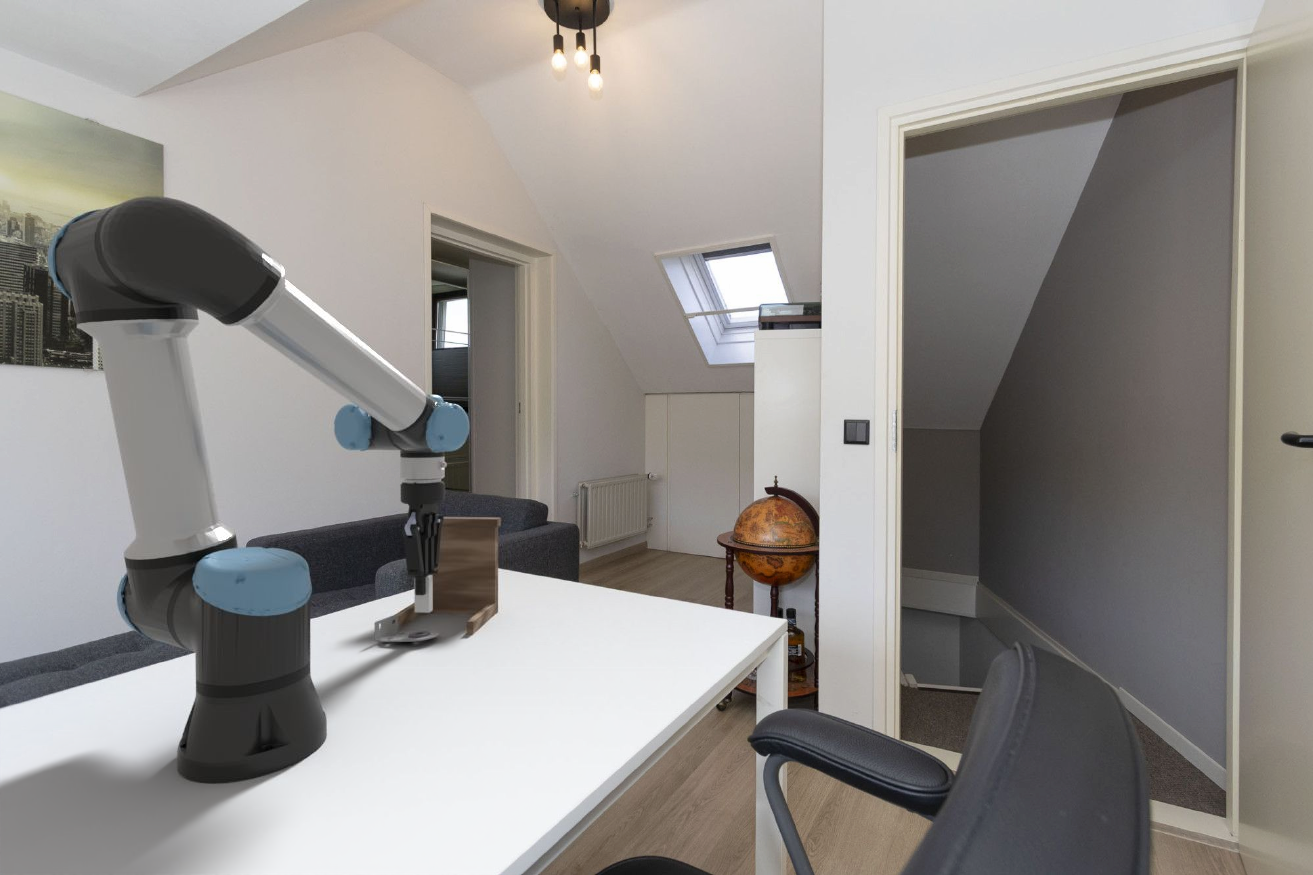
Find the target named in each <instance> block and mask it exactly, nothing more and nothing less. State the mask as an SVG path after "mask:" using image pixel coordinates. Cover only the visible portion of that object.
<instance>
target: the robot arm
mask: <svg viewBox="0 0 1313 875" xmlns="http://www.w3.org/2000/svg"><path fill="white" fill-rule="evenodd" d="M46 258H47V267H48V271H49V274H50V276H51V280H52V281H53V283H54V284H55V285H56V287H57V288H58V289H59V291H60V292H61V293H62V294H63V295H64V296H65V297H67V299H69V300H70V301H71V302H72V303H73V308H74V309H73V310H74V313H75V317H76V324H77V328H78V329H80V330H81V331H83V332H85V333H86V335H87V334H88V335H89V336H90V337H92V338H93V339H95V340H96V342H97V343H98V347H99V351H100V357H101V358H100V359H101V363H102V367H103V372H104V378H105V382H106V388H107V392H108V393H107V394H108V398H109V404H110V408H111V413H112V414H111V415H112V418H113V422H114V423H113V424H114V429H115V433H116V439H117V444H118V449H119V454H120V459H121V463H122V468H123V475H124V479H125V483H126V489H127V495H128V499H129V505H130V509H131V515H132V520H133V526H134V529H135V530H134V531H135V539H134V540H133V541H132V542H131V543H130V544H129V545H128V547H126V549H125V550H124V551H123V557H124V562H125V568H126V569H125V570H126V572H125V574H124V575H123V577H122V578H121V579H120V581H119V584H118V587H117V594H116V602H117V604H116V605H117V609H118V611H119V613H120V614H119V615H120V616H121V618H122V620H123V621H124V622H125V624H126V625H127V626H128V627H129V628H131V629H132V630H133V631H134V632H136V633H137V634H139V635H141V636H142V637H144V638H145V639H147V640H149V641H152V642H156V643H158V644H162V645H167V646H174V647H176V648H180V649H183V650H186V651H189V652H193V653H194V654H195V656H194V657H195V696H194V701H193V704H192V706H191V710H190V712H189V715H188V718H187V720H186V724H185V726H184V729H183V732H182V736H181V739H180V740H179V743H178V746H177V751H176V753H177V755H176V756H177V758H176V759H177V763H176V764H177V769H176V770H177V772H178V774H179V775H180V776H181V777H182V778H184V779H186V780H188V781H192V782H194V783H195V782H196V783H202V784H203V783H204V784H225V783H226V784H227V783H236V782H240V781H241V782H242V781H247V780H251V779H256V778H260V777H264V776H267V775H270V774H275V773H276V772H279V771H282V770H284V769H285V770H286V769H287V768H289V767H291V766H294V765H296V764H298V763H300V762H302V761H304V760H305V759H307V758H309V757H310V756H312V755H313V754H314V753H316V752H317V751H318V750H319V749H320V748H322V746H323V745H324V743H325V742H326V740H327V736H328V734H327V732H328V728H327V725H328V724H327V723H328V722H327V714H326V712H325V711H324V710H323V706H322V703H321V700H320V697H319V695H318V693H317V692H318V691H317V689H316V687H315V685H314V682H313V679H312V676H311V672H312V671H311V595H312V592H313V587H312V581H311V576H310V575H311V574H310V573H311V572H310V568H309V564H308V562H307V560H306V559H305V558H304V557H303V556H302V555H301V554H298V553H296V552H294V551H291V550H287V549H284V548H278V547H277V548H276V547H269V548H265V547H261V546H248V547H247V546H246V547H239V544H238V540H237V533H236V530H235V529H233V528H231V527H230V526H228V525H226V524H225V523H222V522H221V521H220V518H219V512H218V506H217V501H216V500H217V499H216V495H215V488H214V484H213V483H214V482H213V479H212V478H213V477H212V473H211V472H212V471H211V466H210V461H209V455H208V450H207V444H206V438H205V437H206V436H205V431H204V427H203V421H202V416H201V408H200V403H199V398H198V393H197V391H198V390H197V387H196V380H195V379H196V378H195V375H194V370H193V364H192V363H193V362H192V357H191V352H190V347H189V346H190V345H189V341H188V338H189V336H190V334H191V333H192V332H193V331H194V330H195V329H196V327H198V325H199V324H200V320H199V315H198V310H199V311H202V312H203V313H206V314H208V315H210V316H211V317H213V318H214V319H216V320H217V321H218V322H220V323H221V324H223V325H224V326H227V327H234V326H241V327H243V328H244V329H245V330H247V331H248V332H250V333H251V334H252V335H254V336H256V337H257V338H258V339H260V340H261V341H263V342H264V343H266V344H267V345H268V346H270V347H271V348H273V349H274V350H276V351H277V352H278V353H280V354H281V355H283V356H284V357H286V358H287V359H289V360H290V361H292V363H294V364H296V365H297V366H299V367H300V368H301V369H303V370H305V371H306V372H307V373H308V374H310V375H312V377H315V378H316V379H317V380H319V381H320V382H321V383H323V384H324V385H326V386H328V388H330V389H332V390H333V391H335V392H336V393H337V394H339V395H340V396H342V397H343V398H345V399H346V400H348V401H349V402H350V403H349V404H348V403H347V404H346V405H343V406H342V407H341V408H340V409H339V410H338V411H337V413H336V415H335V417H334V420H333V424H334V427H333V428H334V429H333V432H334V436H335V439H336V441H337V442H338V444H339V445H340V446H341V447H342V448H344V449H345V450H347V451H348V450H349V451H360V452H366V451H374V450H375V451H399V452H400V453H399V454H400V460H399V461H400V462H399V463H400V464H399V465H400V466H399V478H400V479H401V480H403V482H401V483H400V485H399V486H400V503H402V504H405V505H408V512H407V522H406V523H401V525H400V532H401V535H402V538H403V539H402V540H403V546H404V553H405V554H404V556H405V563H406V570H407V575H408V577H409V578H410V577H411V578H412V577H414V578H413V580H414V588H413V589H414V592H413V593H414V594H413V595H414V602H415V612H421V613H422V614H424V613H430V612H431V611H432V610H433V575H432V574H437V573H438V570H437V569H434V568H437V567H438V561H439V550H440V539H441V528H442V523H443V519H444V517H445V516H444V514H439V513H438V512H439V510H438V504H440V503H441V504H442V502H445V500H446V483H445V482H444V480H443V479H444V478H445V477H446V476H445V472H446V471H445V470H446V469H445V468H446V467H447V466H448V464H447V462H446V461H445V456H446V455H445V452H454V451H457V450H459V449H460V448H461V447H463V445H464V444H465V443H466V441H467V439H468V436H469V434H470V421H469V416H468V414H467V412H466V411H465V409H463V407H462V406H460V405H459V404H456V403H451V402H447V401H444V398H442V396H441V395H438V394H427V392H425V391H424V390H422V389H421V388H420V387H419V386H418V385H416V384H415V383H414V382H413V381H411V380H410V379H409V378H408V377H406V376H405V375H404V374H402V372H400V371H399V370H398V369H396V368H395V367H394V366H393V365H392V364H390V363H389V362H388V361H387V360H385V358H383V357H382V356H381V355H379V354H378V353H377V352H376V351H375V350H373V349H372V348H371V347H369V346H368V345H367V344H366V343H365V342H363V341H362V340H360V339H359V337H357V336H356V335H355V334H354V333H352V332H351V331H350V330H348V329H347V328H346V327H345V326H343V325H342V324H341V323H340V322H339V321H337V320H336V319H335V318H334V317H333V316H331V315H330V314H329V313H328V312H326V311H325V310H324V309H322V308H321V307H320V306H319V305H318V304H316V303H315V302H314V301H313V300H311V299H310V298H309V297H308V296H307V295H306V294H304V293H303V292H301V291H300V290H299V289H298V288H297V287H296V286H294V285H293V284H292V283H290V281H288V280H287V279H286V276H285V268H284V266H283V265H282V264H281V263H280V262H278V261H277V260H276V259H275V258H274V257H272V256H271V255H270V254H269V253H268V252H266V251H265V250H264V249H263V248H261V246H259V245H258V244H256V243H255V242H253V241H252V240H251V239H250V238H248V237H247V236H245V234H243V233H242V232H240V231H238V230H237V229H235V228H234V227H232V226H231V225H230V224H228V223H227V222H225V221H223V220H221V219H220V218H218V217H217V216H215V215H213V214H212V213H210V212H207V210H204V209H202V208H200V207H198V206H196V205H194V204H191V203H188V202H186V201H183V200H180V199H176V198H172V197H165V196H158V195H153V196H152V195H149V196H148V195H147V196H139V197H134V198H131V199H128V200H125V201H123V202H121V203H117V204H116V205H113V206H110V207H105V208H103V209H101V208H99V209H95V210H90V211H87V212H86V211H85V212H84V213H82V214H79V215H77V216H75V217H73V218H72V219H71V220H70V221H68V222H67V223H66V224H64V225H63V226H62V227H60V228H59V230H58V231H57V232H56V233H55V234H54V236H53V237H52V239H51V240H50V244H49V247H48V249H47V257H46Z"/></svg>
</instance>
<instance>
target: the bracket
mask: <svg viewBox="0 0 1313 875" xmlns="http://www.w3.org/2000/svg"><path fill="white" fill-rule="evenodd" d="M394 619H395V623H394V624H392V621H393V620H394ZM439 635H440V634H439V632H438V631H432V630H431V631H429V630H428V631H427V630H424V631H422V630H421V631H416V630H415V631H400V632H399V629H398V615H395V614H393V615H391V616H388V617H385V618H383V619H378V620H376V621H375V622H374V640H376V641H379V642H380V643H394V642H395V643H403V642H405V643H406V642H407V643H408V642H411V643H412V642H413V643H414V642H415V643H417V642H423V641H426V640H427V641H428V640H430V639H435V638H436V637H438V636H439Z"/></svg>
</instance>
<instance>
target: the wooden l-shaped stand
mask: <svg viewBox="0 0 1313 875" xmlns="http://www.w3.org/2000/svg"><path fill="white" fill-rule="evenodd" d="M501 523H502V517H485V516H482V517H479V516H478V517H477V516H444V519H443V523H442V528H441V539H440V550H439V561H438V567H437V568H434V569H437V570H438V573H437V574H432V575H433V610H432V611H431V612H430V613H421V612H415V601H414V602H413V603H411V604H409V605H408V606H406V607H405V608H404V609H402V610H400V611H398V612H397V613H395V614H394V615H398V630H400V629H401V628H403V627H405V626H406V625H407V624H409V623H410V622H412V621H413V620H415V619H416V618H417V617H420V615H422V614H426V615H427V614H428V615H429V614H430V615H470V616H471V615H473V616H472V617H470V618H469V620H467V621H466V635H472V636H473V635H475V634H476V633H477V632H479V630H480V629H481V628H482V627H483V626H485V624H487V622H489V621H490V620H491V619H492V618H493V617H494V616H495V614H496V615H497V614H498V613H499V528H500V527H501V525H502V524H501ZM394 623H395V619H394V620H393V621H392V624H394Z"/></svg>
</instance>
